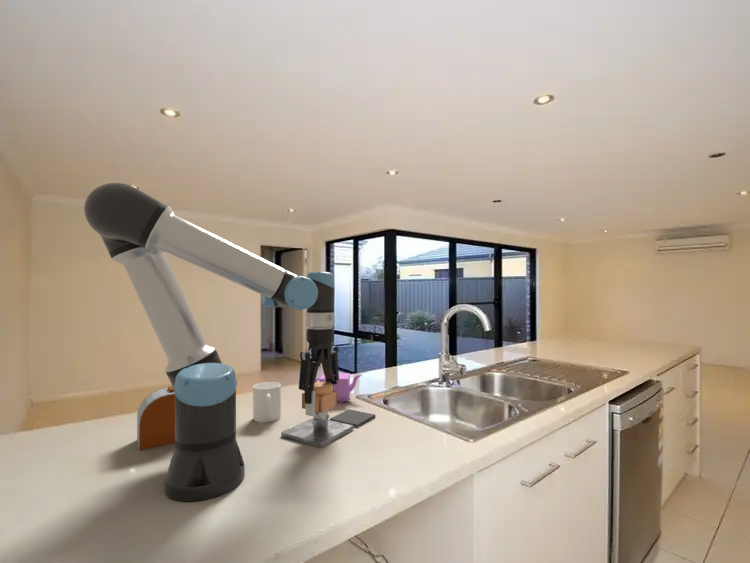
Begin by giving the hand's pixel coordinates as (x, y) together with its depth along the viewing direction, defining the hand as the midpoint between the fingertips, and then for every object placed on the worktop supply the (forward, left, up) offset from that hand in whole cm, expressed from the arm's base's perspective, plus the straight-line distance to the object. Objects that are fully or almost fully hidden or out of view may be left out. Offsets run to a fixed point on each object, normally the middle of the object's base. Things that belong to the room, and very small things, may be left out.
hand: (319, 411), depth 103 cm
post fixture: (0, 0, -6) cm, 6 cm away
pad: (+14, -1, -6) cm, 16 cm away
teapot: (+27, +15, -7) cm, 32 cm away
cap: (0, 0, +1) cm, 1 cm away
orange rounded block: (-23, +33, -7) cm, 40 cm away
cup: (0, +21, -7) cm, 22 cm away
